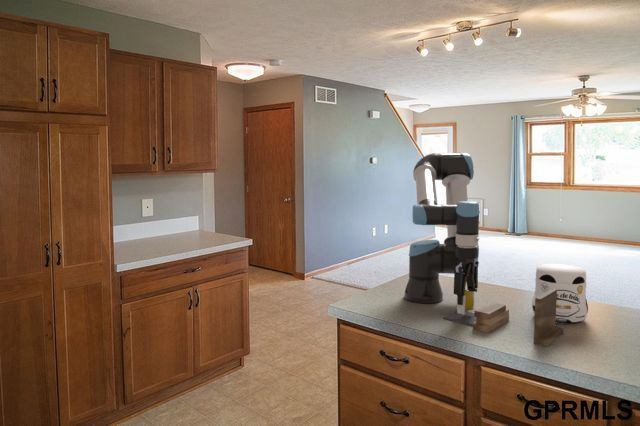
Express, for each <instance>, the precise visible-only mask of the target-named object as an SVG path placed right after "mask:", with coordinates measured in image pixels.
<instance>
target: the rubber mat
mask: <svg viewBox="0 0 640 426" xmlns="http://www.w3.org/2000/svg"><path fill="white" fill-rule="evenodd" d="M442 318H443V319H444V320H448V321H450V322H454V323H455V322H456V323H460V324H463V325H467V326H471V327H473V323H474V322H476V317H474V312H471V311H468V310H467V311H466V312H465V314H460V313H457V310H455V311H453V312H451V313H449V314H447V315H444V316H443V317H442Z"/></svg>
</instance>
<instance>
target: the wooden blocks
mask: <svg viewBox="0 0 640 426" xmlns="http://www.w3.org/2000/svg"><path fill="white" fill-rule="evenodd" d="M556 301H557V290H556V289H551V290H549V291H547V292H546V293H544V294H542V295H540V296H538V297H537V298H535V314H534V317H533V318H534V323H533V344H535V345H538V346H539V345H540V346H543V347H547V348H548V347H549V346H551V344H553V343H554V342H555V341H557V340H558V339H559V338H560V337H562V336H563V335H564V328H565V327H560V326H556V324H557V323H556ZM473 313H474V317H476V322H474V323H473V326H472V329H473V330H475V331H480V332H484V333H490V332H492V331H494V330H495V329H496V328H498V327H500V326H502V325H504V324H506V323H507V322H509V321H510V309H509V308H507V305H506V304H504V303H498V302H494V301H492V302H489V303H487V304H485V305H483V306H480V307H479V308H476V309H474V310H473Z"/></svg>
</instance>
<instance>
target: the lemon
mask: <svg viewBox="0 0 640 426" xmlns="http://www.w3.org/2000/svg"><path fill="white" fill-rule="evenodd" d="M464 295H465V296H466V302H465V312H466V311H467V312H468V311H471V310H470V309H471V308H472V307H473V303H474V304H475V298H474V299H473V295H472V294H471V293H470V292H469V290H468V289H465V293H464Z"/></svg>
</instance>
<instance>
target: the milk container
mask: <svg viewBox="0 0 640 426" xmlns="http://www.w3.org/2000/svg"><path fill="white" fill-rule="evenodd" d="M551 289H556V290H557V301H556V323H555V324H563V325H570V324H571V325H574V324H580V323H582V322H584V321H585V320H586V319H587V317H588V313H589V312H588V311H589V305H588V301H587V293H586V291H587V272H586V269H584V268H583V267H580V266H576V265H571V264H563V263H542V264H538V265H537V266H536V270H535V289H534V294H533V296H532V299H531V308H532V313H533V314H534V315H535V298H537V297H538V296H540V295H542V294H544V293H546V292H547V291H549V290H551Z"/></svg>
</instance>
